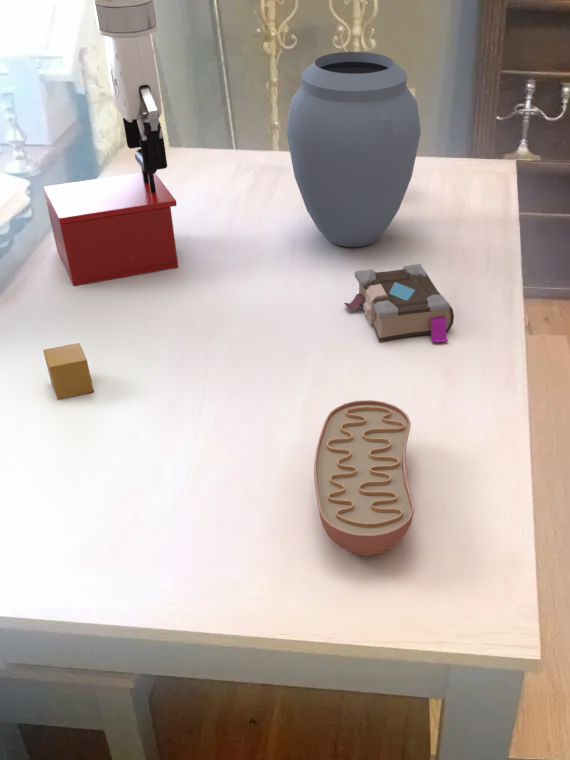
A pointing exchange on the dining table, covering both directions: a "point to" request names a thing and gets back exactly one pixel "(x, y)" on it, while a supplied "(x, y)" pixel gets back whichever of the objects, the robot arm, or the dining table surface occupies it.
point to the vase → (353, 144)
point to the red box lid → (109, 196)
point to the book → (403, 304)
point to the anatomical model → (364, 476)
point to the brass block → (68, 370)
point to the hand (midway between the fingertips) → (147, 157)
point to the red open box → (115, 245)
